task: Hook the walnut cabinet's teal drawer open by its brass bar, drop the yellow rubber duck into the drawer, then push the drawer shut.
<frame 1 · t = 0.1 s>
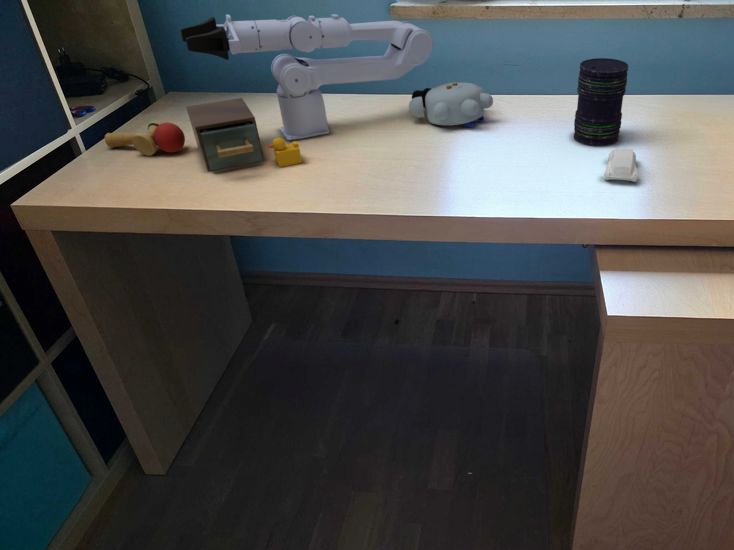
hand: (184, 39, 123), 22 cm above the table, tool horizontal, fingers open, 7 cm apart
figurine: (449, 119, 149), on the table
storage jar: (595, 138, 138), on the table
drawer: (229, 141, 128), point 4 cm above the table, slide at 1.0 cm
kendama: (148, 150, 137), on the table
duck: (289, 162, 131), on the table
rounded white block: (620, 173, 124), on the table
cabinet: (230, 154, 134), on the table
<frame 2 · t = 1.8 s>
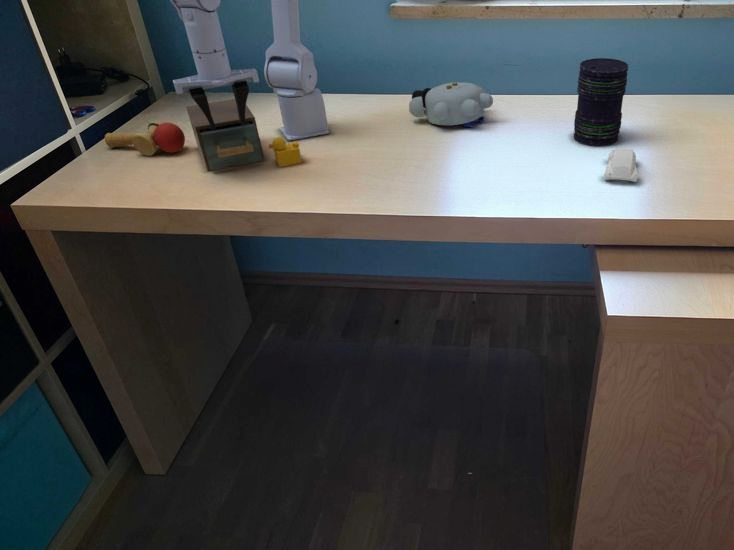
hand: (228, 126, 121), 9 cm above the table, tool pointing down, fingers open, 5 cm apart
nothing on the table moved.
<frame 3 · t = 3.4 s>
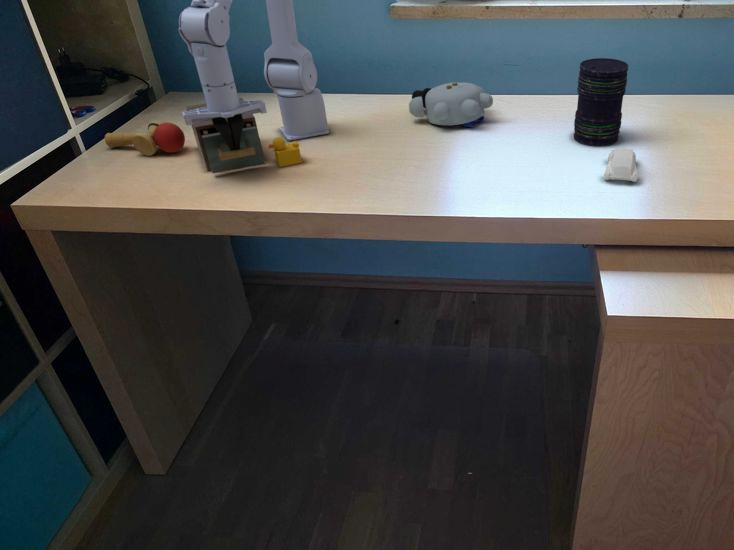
hand: (236, 155, 123), 4 cm above the table, tool pointing down, fingers closed, pressing on drawer
drawer: (231, 144, 127), point 4 cm above the table, slide at 2.7 cm, touching gripper
everything else where it was.
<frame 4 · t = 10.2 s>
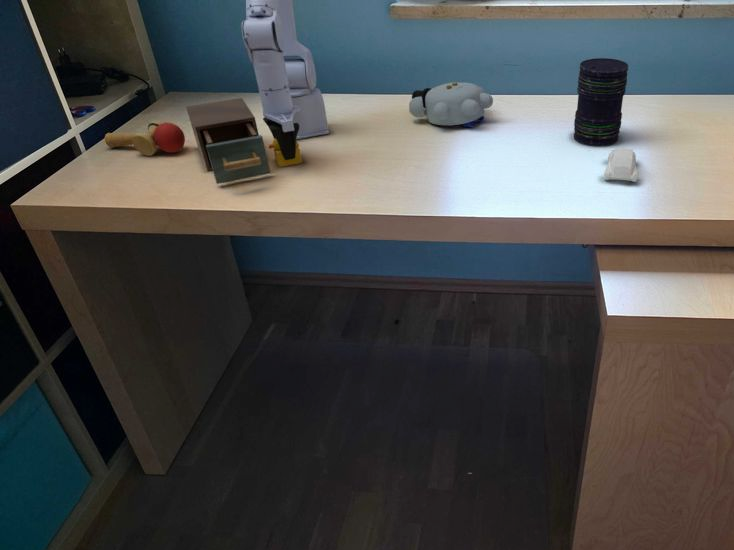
hand: (287, 155, 130), 1 cm above the table, tool pointing down, fingers closed on duck, 3 cm apart
drawer: (235, 153, 123), point 4 cm above the table, slide at 8.0 cm
duck: (288, 161, 131), on the table, touching gripper
everything else where it was.
when the fingers open (6 cm above the table, at t = 14.4 s): duck drops 3 cm, resting on drawer.
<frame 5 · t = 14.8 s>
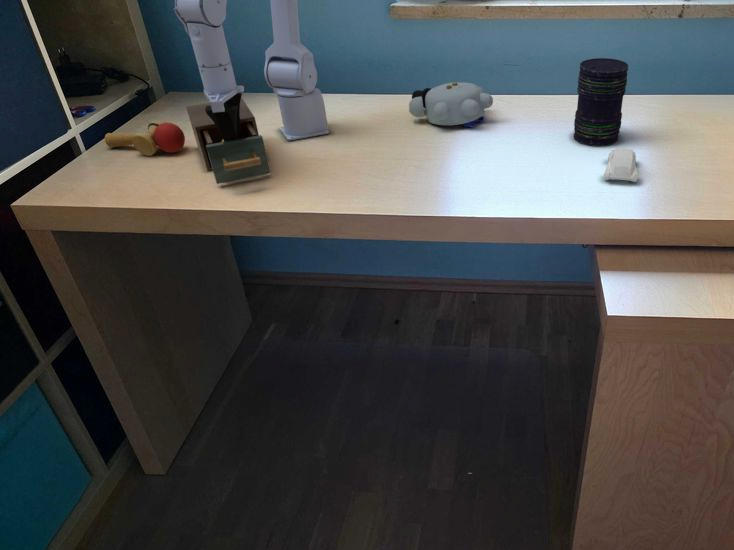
hand: (233, 137, 123), 7 cm above the table, tool pointing down, fingers open, 5 cm apart
drawer: (235, 153, 123), point 4 cm above the table, slide at 8.0 cm, touching duck
duck: (239, 163, 126), point 2 cm above the table, touching drawer
everything else where it was.
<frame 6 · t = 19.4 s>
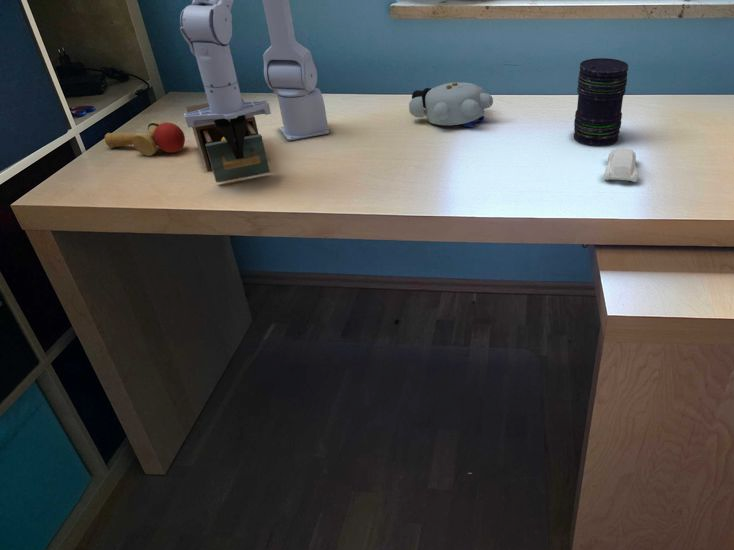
hand: (239, 158, 119), 5 cm above the table, tool pointing down, fingers closed, pressing on drawer
drawer: (235, 152, 123), point 4 cm above the table, slide at 7.3 cm, touching duck, gripper
everything else where it was.
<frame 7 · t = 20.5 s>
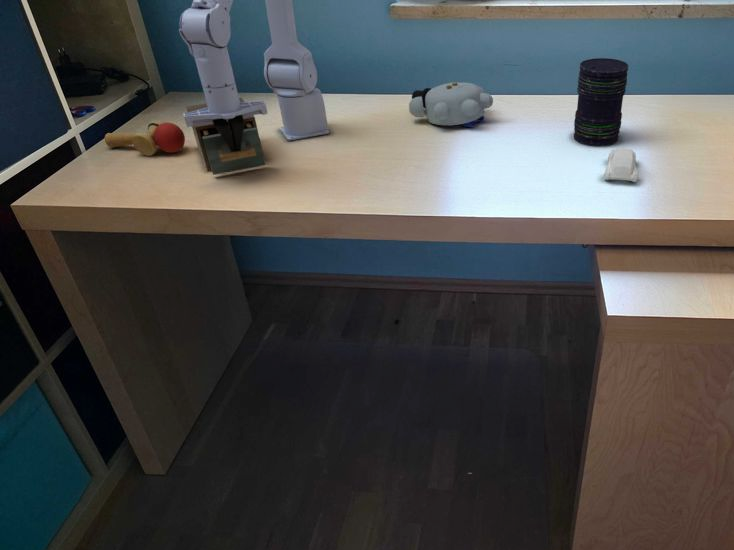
hand: (237, 157, 122), 4 cm above the table, tool pointing down, fingers closed, pressing on drawer
drawer: (231, 145, 126), point 4 cm above the table, slide at 3.3 cm, touching duck, gripper
duck: (235, 154, 129), point 2 cm above the table, touching drawer
everything else where it was.
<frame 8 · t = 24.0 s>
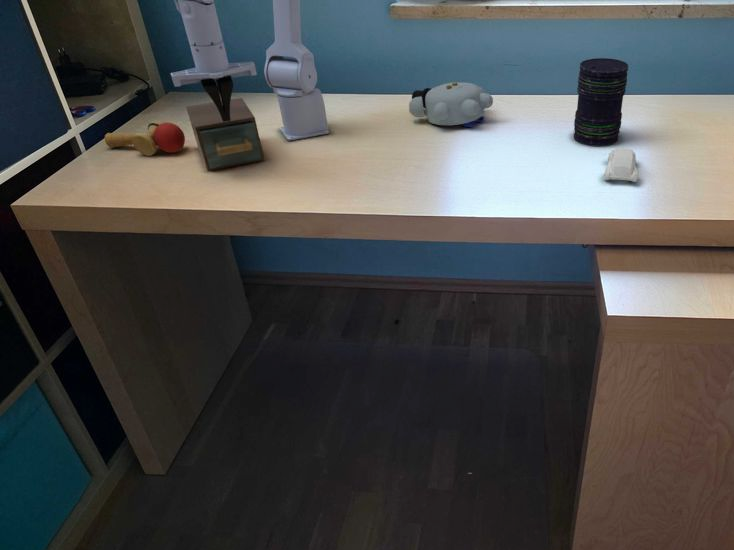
hand: (226, 119, 121), 10 cm above the table, tool pointing down, fingers closed
drawer: (228, 139, 129), point 4 cm above the table, slide at 0.0 cm, touching cabinet, duck
duck: (232, 149, 131), point 2 cm above the table, touching drawer
everything else where it was.
at the end: drawer pulled out 8.2 cm at the most during the clip, back to where it started at the end; duck inside the target area in the cabinet (2.5 cm from its centre), point 1.9 cm above the cabinet's base; drawer slide at 0.0 cm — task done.
